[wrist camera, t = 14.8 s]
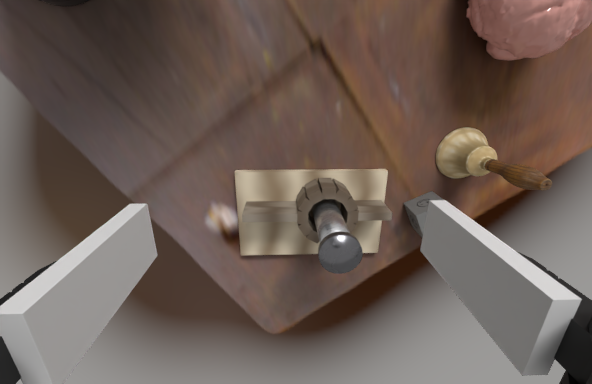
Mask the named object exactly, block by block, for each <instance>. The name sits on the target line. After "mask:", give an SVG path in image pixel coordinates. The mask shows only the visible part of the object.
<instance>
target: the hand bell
mask: <svg viewBox="0 0 592 384" xmlns="http://www.w3.org/2000/svg"><path fill="white" fill-rule="evenodd" d="M436 164H437V167H438V169H439V170H440V172H441V173H442V174H444V175H445V176H447V177H450V178H464V177H467V176H469V175H473V176H483V175H485V174H487V173H489V172H490V171H491V172H494V173H497V174H500V175H501V176H503V177H504V179H505V180H507V181H508V182H509V183H511V184H513V185H515V186H517V187H520V188H523V189H531V190H532V189H533V190H535V189H536V190H548V189H549V188H550V187H551V186H552V182H551V180H549V179H548V178H546V177H545V176H544V175H543V174H542V173H541V172H539V171H538V170H536V169H534V168H532V167H529V166H526V165H520V164H505V163H503V162H500V161H498V160H497V154H496V152H495V150H494V149H493V148H491V147H489V146H488V142H487V139H486V137H485V136H484V134H483V133H482V132H481V131H479V130H477V129H475V128H471V127H464V128H459V129H456V130H454V131H452V132H450V133H449V134H448V135H447V136H445V138H444V139H443V140H442V141H441V143H440V144H439V146H438V148H437V152H436Z"/></svg>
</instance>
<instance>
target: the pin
mask: <svg viewBox="0 0 592 384" xmlns="http://www.w3.org/2000/svg"><path fill="white" fill-rule="evenodd" d="M312 212H313V216H314V221H315V225H316V229H317V233H318V237H319V242H320V244H319V247H318V256H319V260H320V263H321V265H322V266H323V267H324V268H325V269H326V270H327V271H329V272H332V273H338V274H340V273H346V272H349V271H351V270H353V269H354V268H355V267H357V265H358V264H359V263H360V261H361V259H362V255H363V252H362V247H361V245H360V243H359V241H358V239H357V238H356V237H355V236H354V235H352V234H350V232H349V230H348V227H347V225H346V223H345V221H344V219H343V217H342V214H341V212H340V210H339V208H338V206H337V204H336V201H335V199H323V200H321V201H319V202H317V203H316V204H314V205H313V207H312Z"/></svg>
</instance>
